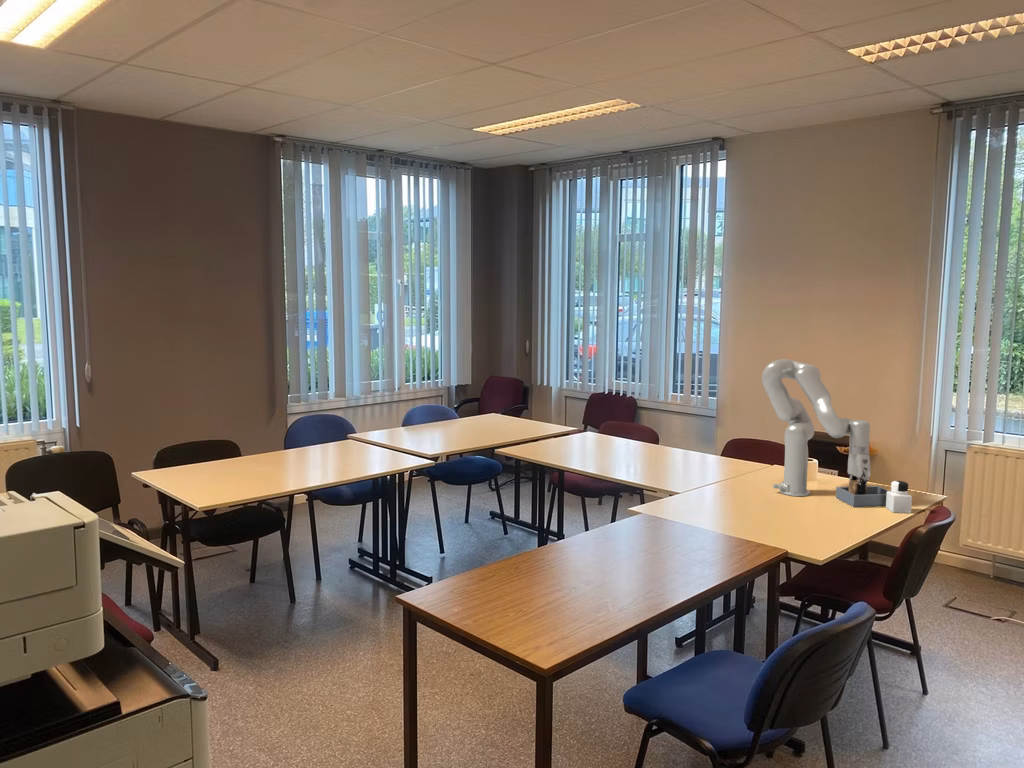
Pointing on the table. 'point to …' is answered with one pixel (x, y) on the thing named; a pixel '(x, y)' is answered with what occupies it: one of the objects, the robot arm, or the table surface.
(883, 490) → the tote
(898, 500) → the medicine bottle
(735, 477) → the table surface
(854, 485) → the walnut cube
